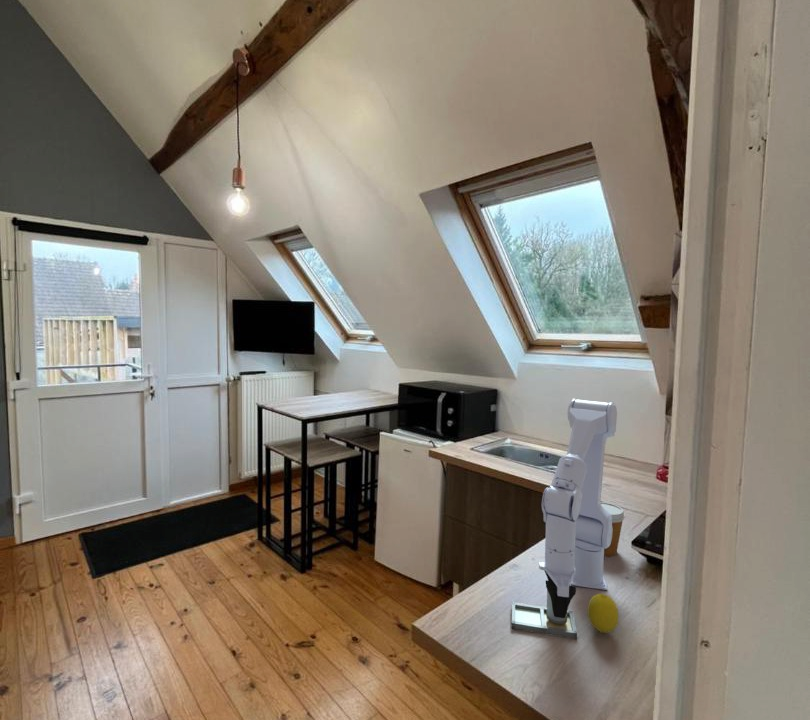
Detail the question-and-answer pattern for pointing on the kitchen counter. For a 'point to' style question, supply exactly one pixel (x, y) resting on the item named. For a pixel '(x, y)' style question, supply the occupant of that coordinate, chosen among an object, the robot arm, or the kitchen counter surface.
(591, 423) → the robot arm
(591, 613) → the lemon
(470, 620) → the kitchen counter surface
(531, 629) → the checker tray
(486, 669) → the kitchen counter surface
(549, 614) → the cell
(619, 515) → the disposable coffee cup
